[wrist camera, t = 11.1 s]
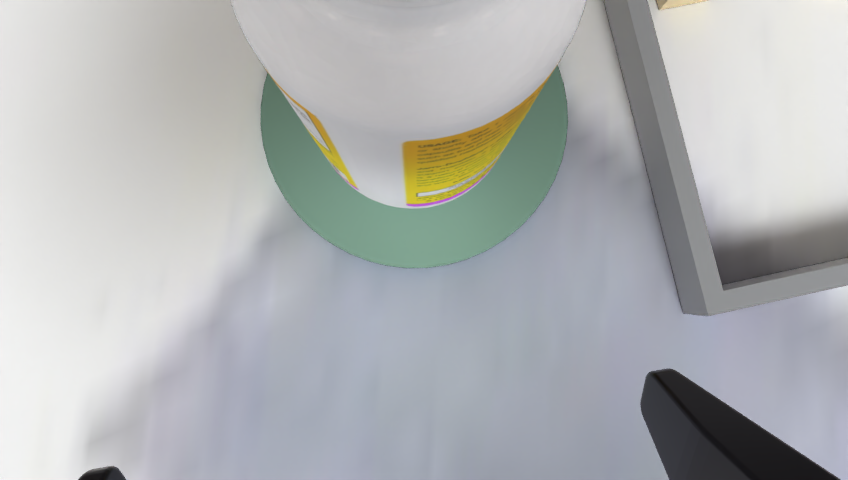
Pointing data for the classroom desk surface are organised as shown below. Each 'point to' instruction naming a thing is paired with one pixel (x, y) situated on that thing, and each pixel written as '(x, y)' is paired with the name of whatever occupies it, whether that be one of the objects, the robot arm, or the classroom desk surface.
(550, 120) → the coaster
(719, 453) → the robot arm
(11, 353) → the classroom desk surface
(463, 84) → the supplement bottle
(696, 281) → the tray
